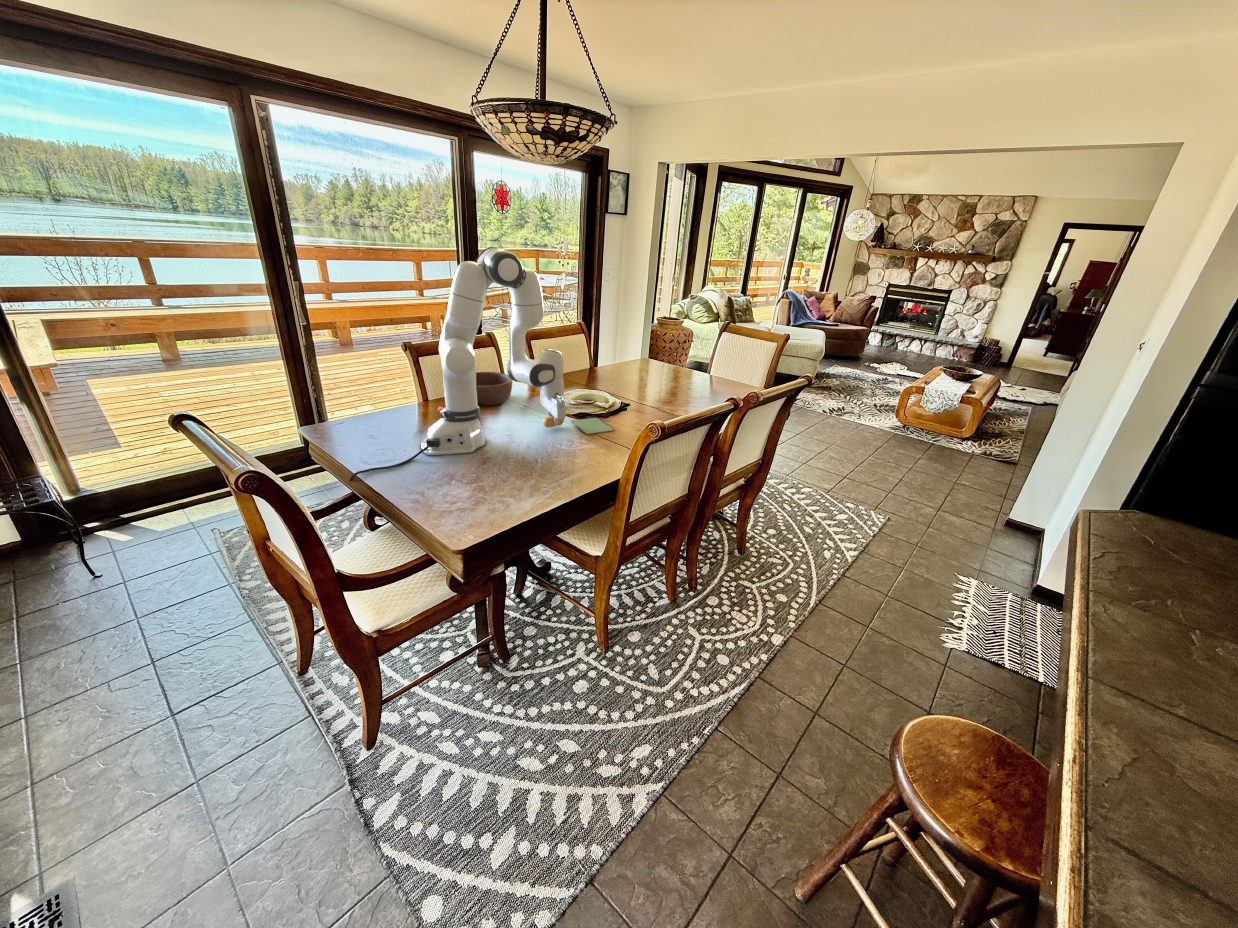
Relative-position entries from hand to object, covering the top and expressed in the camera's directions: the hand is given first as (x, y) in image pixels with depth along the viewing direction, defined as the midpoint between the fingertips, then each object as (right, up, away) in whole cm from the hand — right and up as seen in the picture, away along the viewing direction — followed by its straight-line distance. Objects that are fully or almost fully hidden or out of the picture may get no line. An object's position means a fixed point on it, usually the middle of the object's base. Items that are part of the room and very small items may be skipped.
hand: (553, 422), depth 197 cm
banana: (+15, +9, +27) cm, 32 cm away
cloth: (+16, -1, +5) cm, 16 cm away
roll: (0, -1, +1) cm, 2 cm away
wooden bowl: (-36, +13, +29) cm, 47 cm away
